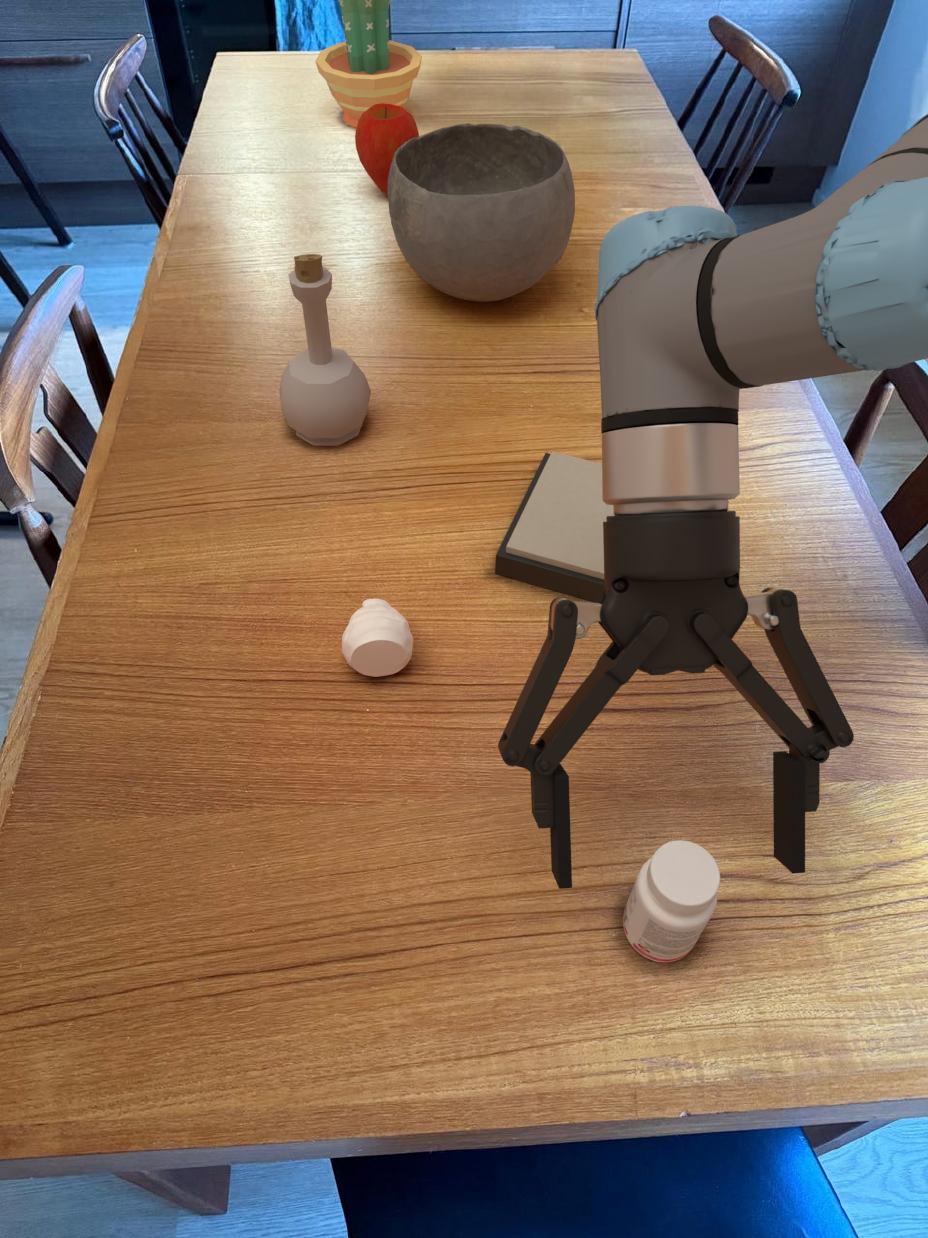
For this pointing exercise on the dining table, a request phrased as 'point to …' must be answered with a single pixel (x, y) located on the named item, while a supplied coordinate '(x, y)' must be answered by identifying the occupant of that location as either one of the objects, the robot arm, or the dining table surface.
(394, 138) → the apple
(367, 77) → the potted cactus
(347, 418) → the potion bottle
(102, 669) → the dining table surface
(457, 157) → the bowl
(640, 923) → the pill bottle
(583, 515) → the scale
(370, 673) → the garlic bulb
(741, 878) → the dining table surface
